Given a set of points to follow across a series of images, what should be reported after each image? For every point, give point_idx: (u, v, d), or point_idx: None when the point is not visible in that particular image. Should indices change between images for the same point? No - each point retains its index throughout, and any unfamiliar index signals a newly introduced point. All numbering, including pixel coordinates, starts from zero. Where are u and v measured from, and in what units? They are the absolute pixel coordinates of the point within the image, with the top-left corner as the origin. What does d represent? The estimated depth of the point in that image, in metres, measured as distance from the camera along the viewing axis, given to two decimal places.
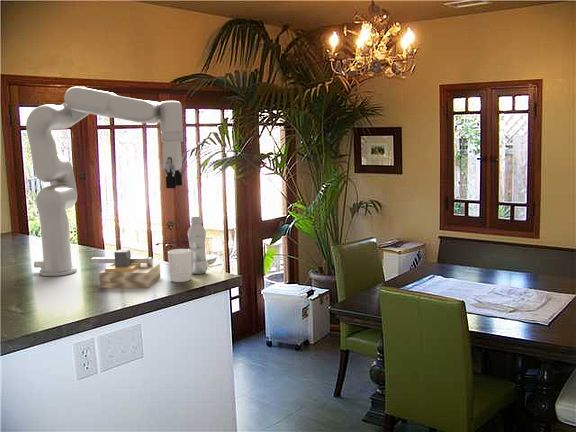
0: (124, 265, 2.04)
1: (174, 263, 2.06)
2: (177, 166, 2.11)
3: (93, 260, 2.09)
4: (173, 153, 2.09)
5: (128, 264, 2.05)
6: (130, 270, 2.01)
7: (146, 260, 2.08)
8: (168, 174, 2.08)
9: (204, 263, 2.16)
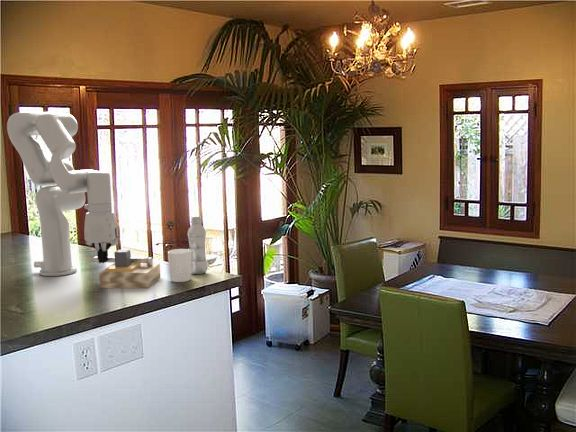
0: (124, 265, 2.04)
1: (174, 263, 2.06)
2: None
3: (95, 259, 2.11)
4: None
5: (128, 264, 2.05)
6: (130, 270, 2.01)
7: (146, 260, 2.08)
8: (108, 248, 2.07)
9: (204, 263, 2.16)
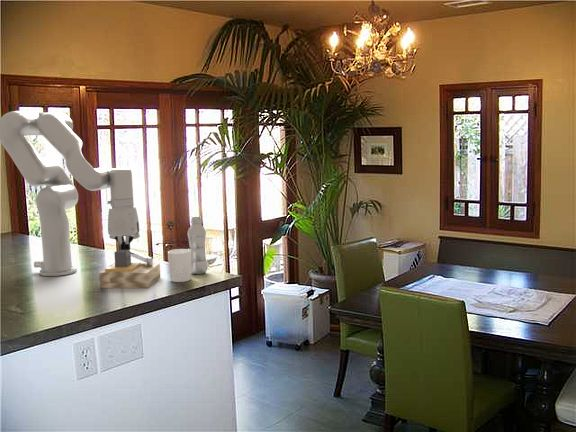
0: (124, 265, 2.04)
1: (174, 263, 2.06)
2: None
3: None
4: (137, 217, 2.18)
5: (128, 264, 2.05)
6: (130, 270, 2.01)
7: (146, 259, 2.08)
8: (130, 241, 2.18)
9: (204, 263, 2.16)
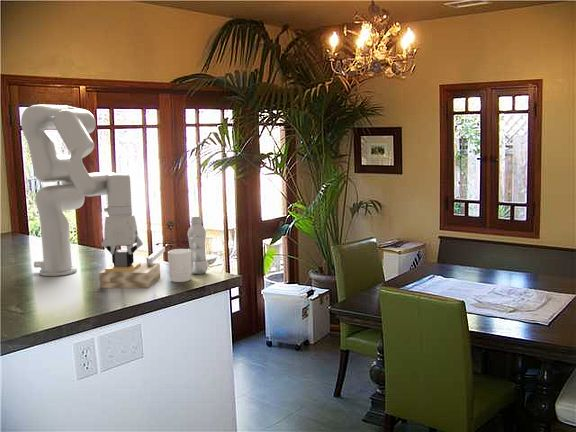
0: (124, 265, 2.04)
1: (174, 263, 2.06)
2: None
3: None
4: (136, 226, 2.05)
5: None
6: (130, 270, 2.01)
7: None
8: (134, 251, 2.05)
9: (204, 263, 2.16)
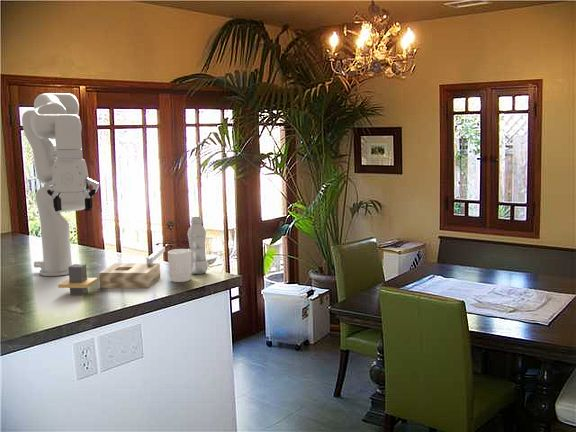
0: (79, 281, 1.92)
1: (174, 263, 2.06)
2: None
3: None
4: (87, 172, 1.90)
5: (83, 279, 1.93)
6: (85, 286, 1.90)
7: None
8: (92, 195, 1.90)
9: (204, 263, 2.16)
